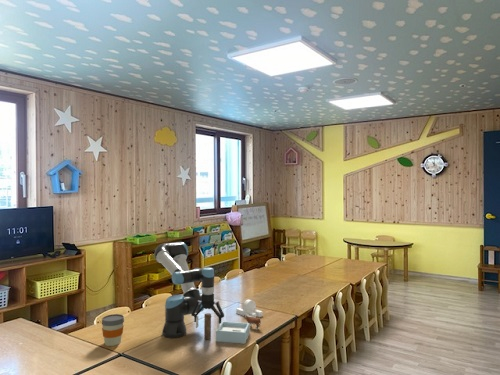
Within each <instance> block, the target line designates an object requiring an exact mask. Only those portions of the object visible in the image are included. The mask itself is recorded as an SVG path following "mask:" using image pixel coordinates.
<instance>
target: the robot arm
mask: <svg viewBox="0 0 500 375" xmlns="http://www.w3.org/2000/svg"><path fill="white" fill-rule="evenodd" d="M188 255H189V249H188V245H187V244H186V243H185V242H183V241H176V242H163V243H161V244H159V245H157V247H156V248H155V250H154V259H155V260H156V262H157V263H159V264H161V265H162V266H163V267H164V268H165V269H166V270H167V271H168V273H169V274H170V275H171V281H172V283H173V284H174V285H180V286H181V289H182V291H183V294H173V295H170V296H168V297H167V298H166V300H165V304H164V307H165V310H164V312H165V314H164V317H165V319H164V321H165V322H164V325H163V328H162V332H161V334H162V336H163V337H165V338H168V339H169V338H170V339H177V338H182V337H184V336H185V335H186V334H187V331H188V330H187V326H186V323H185V316H187V315H188V316H189V315H191V317H194V318H193V320H194V323H195V329H198V327H199V314H200V313H201V312H203V311H205V310H207V309H208V310H211V311H213V312H214V314H215V315H216V316H217V328H216V330H217V329H219V328H220V324H221V322H222V318H224V317H225V313H224V311H223V309H222V308H221V305H220V301H215V269H214V268H213V267H203V268H201V267H195V268H194V269H190V268H189V265H188V262H187V258H188ZM195 282H201V292H200V290H199V289H198V288H196V285H195ZM215 306H216V307H215Z"/></svg>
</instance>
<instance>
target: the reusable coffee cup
mask: <svg viewBox="0 0 500 375" xmlns="http://www.w3.org/2000/svg"><path fill="white" fill-rule="evenodd" d="M124 317H125V316H124V315H123V314H119V313H118V314H117V313H115V314H107V315H105V316H103V317H102V320H101V326H102V328H101V332H102V336H103V339H104V345H105V346H106V347H107V346H108V347H113V346H117V345H120V343H122V337H123V336H122V335H123V333H124V326H125V325H124V322H125V318H124Z"/></svg>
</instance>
